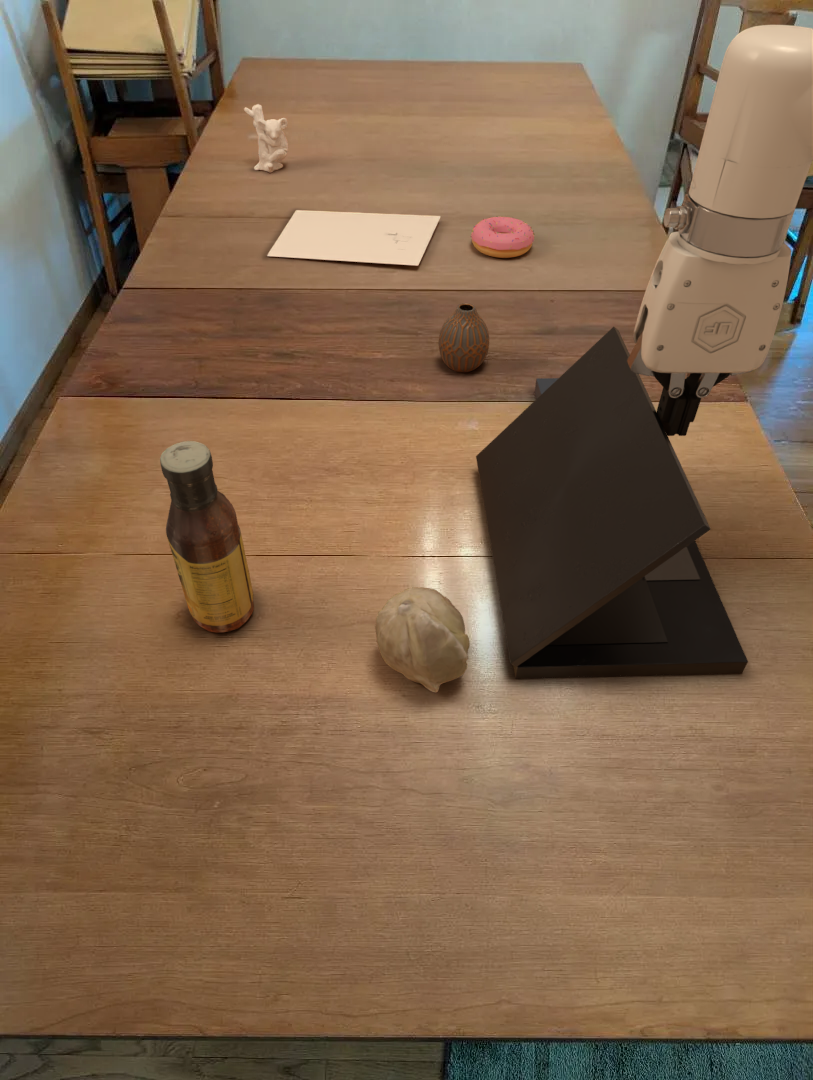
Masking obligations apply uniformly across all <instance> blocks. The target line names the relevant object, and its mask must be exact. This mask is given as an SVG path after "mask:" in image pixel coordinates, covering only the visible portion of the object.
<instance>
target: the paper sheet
mask: <svg viewBox="0 0 813 1080" xmlns="http://www.w3.org/2000/svg"><path fill="white" fill-rule="evenodd" d="M441 218H442V217H441V215H425V214H424V215H423V214H401V213H400V214H398V213H379V212H378V213H376V212H355V211H354V212H351V211H331V210H330V211H329V210H328V211H326V210H304V209H296V210H295V211H294V212H293V214H292V216H291V217H290V219H289V220H288V222H287V224H286V225H285V226H284V228H283V230H282V231H281V232H280V235H278V238H277V239H276V241H275V242H274V243H273V245H272V247H271V248H270V249H269V252H268V253H267V254H266V256H267V257H274V258H275V257H277V258H278V257H279V258H292V259H293V258H294V259H309V260H323V261H324V260H325V261H341V262H355V263H356V262H357V263H370V264H371V263H372V264H385V265H402V266H403V265H404V266H419V264H420V263H421V260H422V259H423V256H424V254H425V252H426V249H427V248H428V245H429V243H430V241H431V239H432V236H433V234H434V232H435V230H436V228H437V226H438V223H439V221H440V219H441Z"/></svg>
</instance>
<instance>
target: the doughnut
mask: <svg viewBox="0 0 813 1080" xmlns="http://www.w3.org/2000/svg"><path fill="white" fill-rule="evenodd" d="M470 238H471V242H472V245H473V247H474V248H475V249H476V250H477V251H478V252H479V253H481V254H483V255H485V256H489V257H493V258H498V259H509V258H511V259H512V258H516V257H519V256H523V255H524V254H526V253H528V251H530V249H531V248H532V246H533V242H534V241H535V230H533V229H532V226H530V224H528V223H527V222H526V221H524V220H521V219H518V218H515V217H509V216H498V215H496V216H492V217H487V218H483V219H482V220H480V221H478V222H477V223H476V224H475V225H473V229H472V230H471V234H470Z"/></svg>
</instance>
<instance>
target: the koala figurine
mask: <svg viewBox="0 0 813 1080" xmlns="http://www.w3.org/2000/svg"><path fill="white" fill-rule="evenodd" d="M243 111H244V113H246V114H247V115H248V116H249V117H251V118H252V119H253V121H252V126H253V128H254V129H255V132H256V134H257V146H258V150H257V153H258V154H257V155H258V158H259V161H258V162H257V163H256V165H254V167H253V170H254V171H259V170H260V171H265V172H268V173H273V172H274V171H277V170H280V169H282V168H283V167H284V164H283V163H281V162H278V161H282V160H284V159H285V158H286V157H287V155H288V152H289V141H288V139H287V137H286V133H285V132H284V131H283V130H286V129H287V128H288V119H287V118H286V117H281V118H279V119H275V118H271V119H267V120H265V116H264V111H263V106H262V104H260V103H257V104H254V105H253V106H252V108H251V109H250V108H248V107H247V106H245V107H244V108H243Z"/></svg>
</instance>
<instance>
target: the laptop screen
mask: <svg viewBox="0 0 813 1080" xmlns="http://www.w3.org/2000/svg"><path fill="white" fill-rule="evenodd" d="M630 354H631V353H630V352H629V350H628V348H627V345H626V343H625V341H624V338H623V337H622V335H621V332H620V330H619V329H618V328H616V327H615V326H612V327H611V329H609V330H608V331H607V332H606V333H605V334H604V335H603V336H602V337H601V338H600V339H599V340H597V342H595V343H594V344H593V345H592V346H591V347H590V348H589V349H588V350H586V352H585V353H583V355H582V356H580V358H578V359H577V361H575V362H574V363H573V364H571V366H570V367H569V368H568V369H567V370H566V371H564V372H563V373H562V375H560V376H559V377H557V378H558V379H557V380H556V381H555V382H554V383H553V384H552V385H551V386H550V387H549V388H548V389H547V390H546V391H545V392H544V393H543V394H541V395H540V396H539V397H538V398H537V399H536V398H535V400H534V401H533V402H532V403H531V404H529V405H528V407H527V408H526V409H524V411H522V412H521V413H519V415H518V416H517V417H516V418H515V419H514V420H512V421H511V422H510V423H509V425H507V426H506V427H505V428H504V429H503V430H502V431H501V432H500V433H499V434H498V435H497V436H495V437H494V439H492V440H491V441H490V442H489V443H488V444H487V445H486V446H484V448H482V450H481V451H480V452H479V453H478V454H477V455H476V456H475V458H476V459H475V460H476V466H477V471H478V476H479V484H480V489H481V495H482V501H483V507H484V513H485V519H486V525H487V531H488V538H489V544H490V549H491V550H490V551H491V556H492V561H493V567H494V574H495V580H496V585H497V591H498V597H499V604H500V610H501V616H502V621H503V628H504V633H505V639H506V646H507V651H508V658H509V663H510V665H512V666H513V665H514V666H516V667H517V666H518V665H520V664H521V663H523V662H524V661H526V660H527V659H528V658H530V657H531V656H533V655H534V654H535V653H537V652H538V651H540V650H541V649H542V648H544V647H545V646H547V645H548V644H550V643H551V642H552V641H554V640H555V639H557V638H558V637H559V636H561V635H562V634H564V633H565V632H566V631H568V630H569V629H571V628H572V627H574V626H575V625H576V624H578V623H579V622H581V621H582V620H583V619H585V618H586V617H588V616H589V615H590V614H592V613H593V612H595V611H596V610H598V609H599V608H600V607H602V606H603V605H605V604H606V603H607V602H609V601H610V600H612V599H613V598H614V597H616V596H617V595H619V594H620V593H622V592H623V591H624V590H626V589H627V588H629V587H630V586H631V585H633V584H634V583H636V582H637V581H638V580H640V579H641V578H643V577H644V576H646V575H647V574H648V573H650V572H651V571H653V570H654V569H655V568H657V567H658V566H660V565H661V564H662V563H664V562H665V561H667V560H668V559H670V558H671V557H672V556H674V555H675V554H677V553H678V552H679V551H681V550H682V549H684V548H685V547H686V546H688V545H689V544H691V543H692V542H694V541H696V540H698V539H699V538H701V537H702V536H703V535H705V534H706V533H708V532H709V531H711V530H712V528H711V527H710V524H709V522H708V520H707V518H706V516H705V515H706V514H704V512H703V509H702V507H701V505H700V503H699V501H698V498H697V496H696V494H695V492H694V490H693V487H692V486H691V483H690V481H689V479H688V477H687V475H686V472H685V471H684V468H683V466H682V464H681V462H680V459H679V457H678V456H677V453H676V451H675V448H674V447H673V445H672V442H671V440H670V438H669V436H667V434H666V431H665V429H664V427H663V425H662V423H661V421H660V419H659V416H658V414H657V409H656V408H655V406H654V404H653V401H652V399H651V397H650V395H649V393H648V391H647V389H646V387H645V384H644V381H643V380H642V378H641V374H637V373H633V372H632V371H631V370H630V368H629V366H628V363H627V360H628V358H629V356H630Z"/></svg>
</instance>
